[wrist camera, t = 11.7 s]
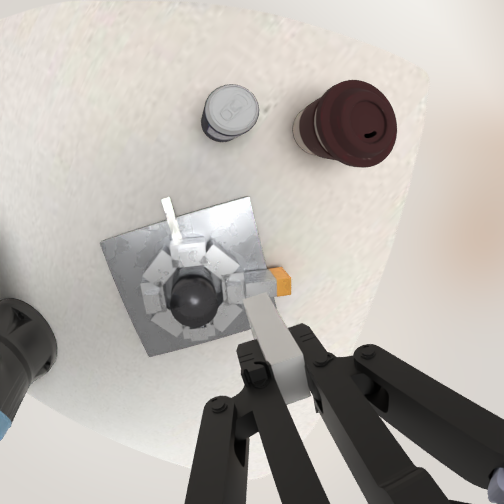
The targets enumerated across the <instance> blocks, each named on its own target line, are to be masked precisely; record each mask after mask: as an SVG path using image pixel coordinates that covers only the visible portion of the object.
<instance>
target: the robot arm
mask: <svg viewBox="0 0 504 504" xmlns="http://www.w3.org/2000/svg"><path fill="white" fill-rule="evenodd" d="M243 303H244V307H245V310H246V314H247V317H248V320H249V324H250V327H251V331H252V334H253V337H254V340H252V341H249V342H245V343H242V344H239V345H238V348H237V351H236V352H237V355H238V359H239V363H240V366H241V376H242V379H243V381H244V384H245V385H244V388H243V390H242V391H241V392H240V393H239V394H237V395H236V396H234V397H232V398H230V397H227V396H218V397H214V398H212V399H210V400H209V401H208V402H207V403H206V405H205V407H204V410H203V415H202V420H201V425H200V429H199V434H198V439H197V444H196V449H195V454H194V459H193V464H192V469H191V474H190V479H189V484H188V489H187V494H186V499H185V504H246V490H247V474H248V457H249V437H250V436H252V435H254V434H255V433H257V432H259V434H260V437H261V440H262V443H263V447H264V450H265V453H266V456H267V459H268V462H269V466H270V469H271V472H272V475H273V478H274V481H275V484H276V487H277V490H278V493H279V496H280V499H281V502H282V504H330V502H329V500H328V498H327V496H326V494H325V491H324V489H323V487H322V485H321V483H320V480H319V478H318V476H317V474H316V472H315V469H314V467H313V465H312V463H311V460H310V458H309V456H308V454H307V451H306V449H305V447H304V445H303V442H302V440H301V438H300V436H299V433H298V431H297V429H296V426H295V424H294V422H293V420H292V417H291V415H290V413H289V410H288V408H287V406H286V405H287V404H290V403H293V402H296V401H299V400H302V399H304V398H307V397H310V396H311V394H310V391H311V393H312V395H313V398H314V404H315V409H316V413H320V415H321V417H322V419H323V420H324V422H325V424H326V426H327V428H328V430H329V432H330V434H331V435H332V437H333V439H334V441H335V443H336V445H337V447H338V448H339V450H340V452H341V454H342V456H343V457H344V460H345V462H346V463H347V465H348V467H349V469H350V471H351V472H352V474H353V476H354V478H355V480H356V482H357V484H358V485H359V487H360V489H361V491H362V493H363V495H364V496H365V498H366V500H367V502H368V504H469V503H464V502H459V501H454V500H448V498H447V497H446V496H445V494H444V493H443V492H442V490H441V489H440V488H439V486H438V485H437V484H436V482H435V481H434V479H433V478H432V477H431V475H430V474H429V473H428V472H427V471H426V470H425V469H424V468H422V467H416V466H415V465H414V464H413V463H412V461H411V460H410V458H409V457H408V456H407V454H406V453H405V452H404V450H403V449H402V447H401V446H400V445H399V443H398V442H397V441H396V439H395V438H394V436H393V435H392V434H391V432H390V431H389V429H388V428H387V427H386V425H385V424H384V422H383V421H382V420H381V418H383V419H384V420H385V421H386V422H388V423H389V424H390V425H392V426H393V427H394V428H396V429H397V430H398V431H399V432H401V433H402V434H403V435H405V436H406V437H407V438H409V439H410V440H411V441H413V442H414V443H415V444H417V445H418V446H419V447H421V448H422V449H423V450H425V451H426V452H427V453H429V454H430V455H432V456H433V457H434V458H436V459H437V460H438V461H440V462H441V463H442V464H444V465H445V466H447V467H448V468H450V469H451V470H452V471H454V472H455V473H457V474H458V475H459V476H461V477H463V478H464V479H465V480H467V481H468V482H470V483H472V484H474V485H476V486H478V487H481V488H484V489H487V490H488V499H489V501H490V502H492V503H497V504H504V419H502V418H500V417H498V416H497V415H495V414H493V413H491V412H490V411H488V410H486V409H484V408H482V407H481V406H479V405H477V404H476V403H474V402H472V401H471V400H469V399H467V398H465V397H463V396H462V395H460V394H458V393H457V392H455V391H453V390H452V389H450V388H448V387H446V386H445V385H443V384H441V383H440V382H438V381H436V380H434V379H433V378H431V377H429V376H428V375H426V374H424V373H423V372H421V371H419V370H417V369H416V368H414V367H412V366H411V365H409V364H407V363H406V362H404V361H402V360H401V359H399V358H397V357H396V356H394V355H392V354H391V353H389V352H387V351H385V350H384V349H382V348H380V347H379V346H376V345H373V344H367V345H362V346H360V347H358V348H357V349H356V350H355V352H354V356H348V357H336V356H335V355H333V354H332V353H329V352H327V351H326V350H325V348H324V347H323V345H322V344H321V343H320V341H319V340H318V338H317V337H316V336H315V334H314V333H313V331H312V330H311V329H310V327H309V326H307V325H305V324H303V323H301V324H298V325H296V326H293V327H290V328H287V326H286V325H285V323H284V321H283V320H282V318H281V316H280V315H279V313H278V311H277V309H276V308H275V306H274V304H273V303H272V301H271V299H270V298H269V296H268V294H267V292H265V293H262V294H259V295H256V296H252V297H249V298H246V299H243ZM56 355H57V345H56V340H55V337H54V335H53V332H52V330H51V328H50V327H49V325H48V323H47V322H46V321H45V319H44V318H43V317H42V316H41V315H40V314H39V313H38V312H37V311H36V310H35V309H34V308H33V307H31V306H30V305H28V304H27V303H25V302H23V301H20V300H17V299H3V300H1V301H0V440H2V439H3V437H4V435H5V434H6V432H7V430H8V428H10V427H11V424H12V421H13V419H14V417H15V415H16V413H17V410H18V408H19V406H20V404H21V402H22V400H23V398H24V396H25V394H26V392H27V390H28V388H29V386H30V384H32V383H33V382H34V381H36V380H37V379H39V378H40V377H42V376H43V375H45V374H46V373H47V372H48V371H49V370H50V368H51V367H52V365H53V363H54V361H55V359H56ZM318 411H319V412H318ZM378 415H379V416H380V417H381V418H380V417H379V416H378Z"/></svg>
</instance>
